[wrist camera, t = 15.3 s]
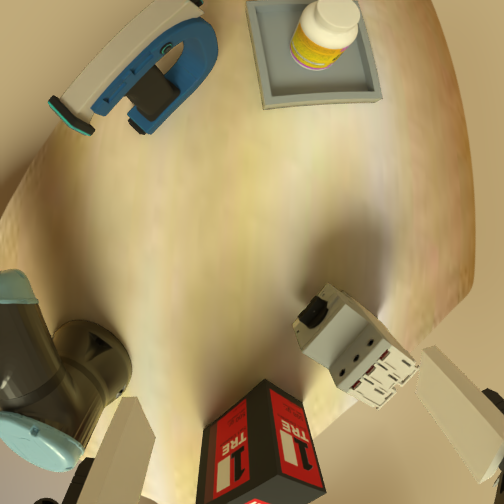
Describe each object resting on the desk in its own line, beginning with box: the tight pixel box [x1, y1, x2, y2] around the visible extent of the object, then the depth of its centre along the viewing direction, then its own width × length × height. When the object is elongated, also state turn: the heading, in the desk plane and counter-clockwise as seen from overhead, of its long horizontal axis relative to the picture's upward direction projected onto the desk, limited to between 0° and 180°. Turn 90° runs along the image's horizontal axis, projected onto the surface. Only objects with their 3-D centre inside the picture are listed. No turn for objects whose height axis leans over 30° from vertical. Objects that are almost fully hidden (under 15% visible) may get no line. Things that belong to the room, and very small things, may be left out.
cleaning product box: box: [196, 379, 326, 504], centre depth 41 cm, size 16×9×20 cm, turn 138°
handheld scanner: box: [48, 0, 218, 136], centre depth 29 cm, size 5×16×20 cm, turn 135°
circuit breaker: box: [292, 282, 420, 410], centre depth 39 cm, size 8×14×15 cm, turn 53°
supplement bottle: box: [289, 0, 360, 71], centre depth 30 cm, size 7×7×13 cm
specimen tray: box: [246, 0, 383, 110], centre depth 36 cm, size 16×16×3 cm
